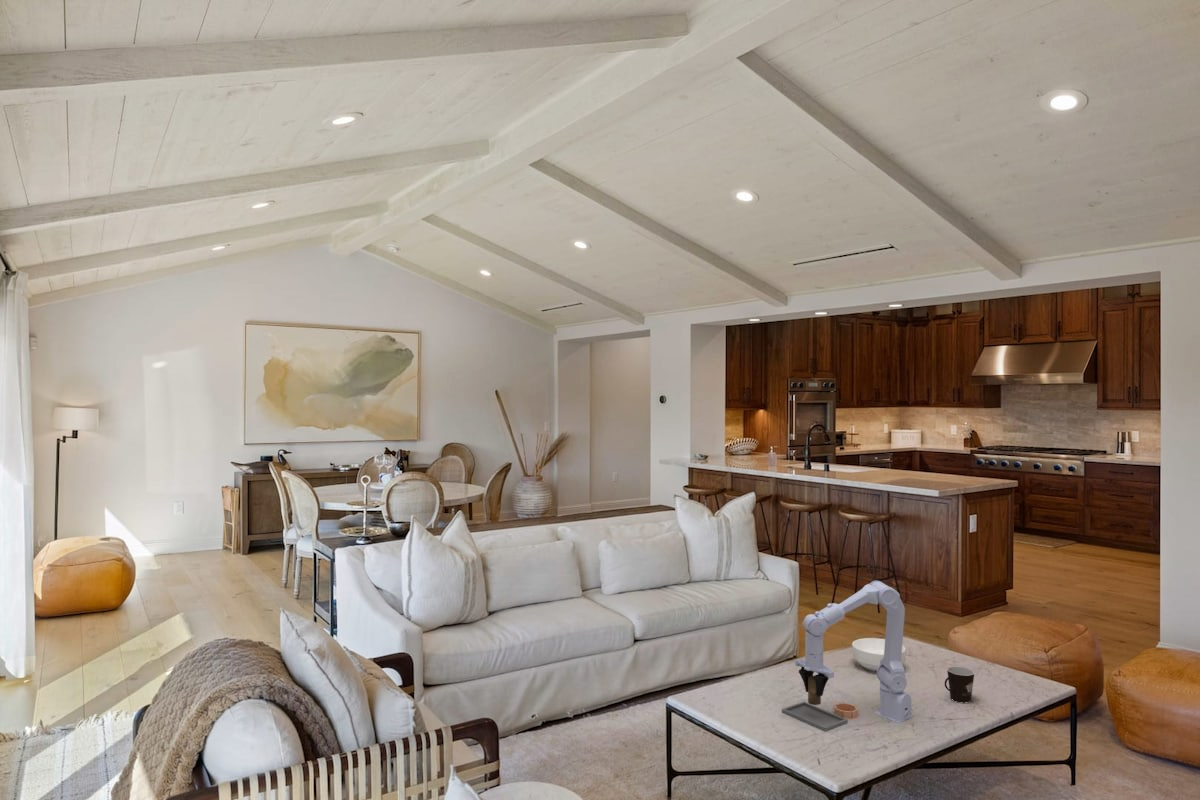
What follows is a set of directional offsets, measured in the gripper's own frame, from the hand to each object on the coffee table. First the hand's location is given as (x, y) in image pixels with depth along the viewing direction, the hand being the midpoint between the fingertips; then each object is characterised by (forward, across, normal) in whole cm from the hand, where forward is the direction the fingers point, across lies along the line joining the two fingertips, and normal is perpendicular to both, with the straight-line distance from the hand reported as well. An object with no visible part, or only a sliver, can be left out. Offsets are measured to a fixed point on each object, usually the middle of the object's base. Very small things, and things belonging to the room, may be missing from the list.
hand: (814, 693), depth 256 cm
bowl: (+9, -17, +58) cm, 61 cm away
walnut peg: (+3, 0, 0) cm, 3 cm away
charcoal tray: (+8, 0, 0) cm, 8 cm away
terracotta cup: (+8, +4, +11) cm, 14 cm away
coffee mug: (+9, +18, +53) cm, 57 cm away
